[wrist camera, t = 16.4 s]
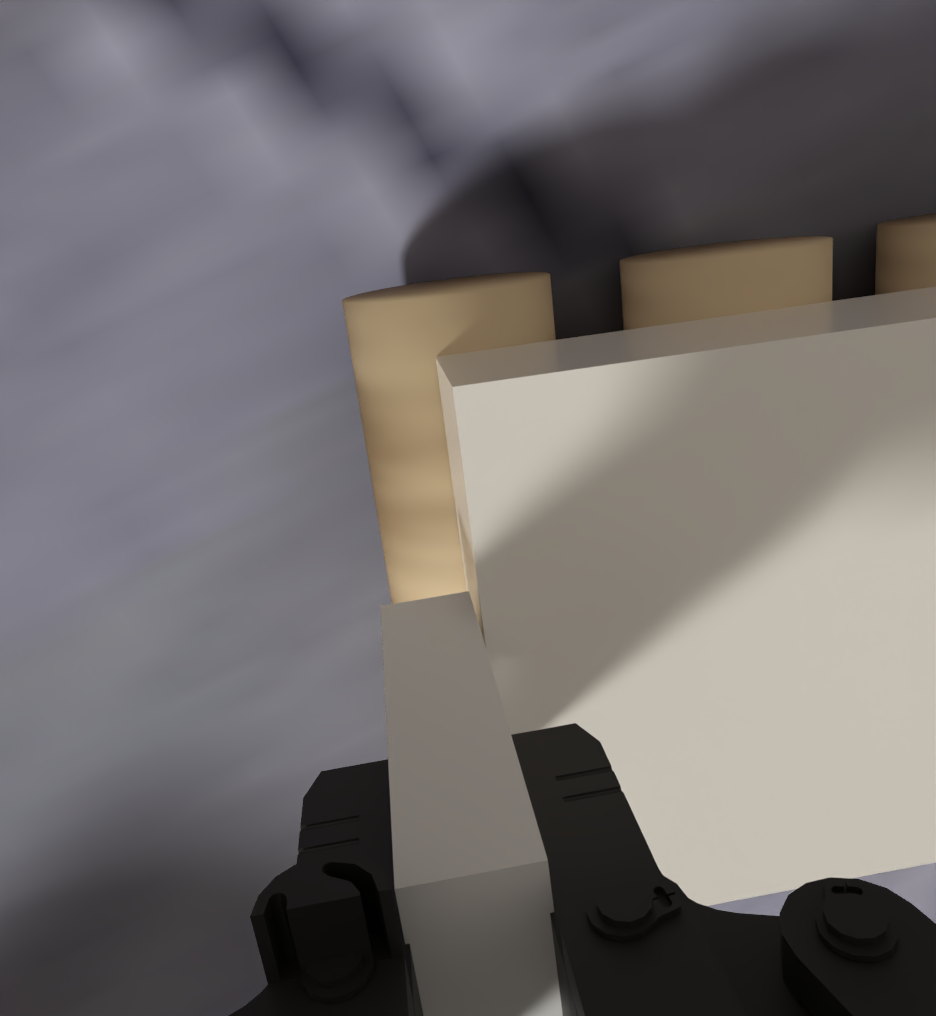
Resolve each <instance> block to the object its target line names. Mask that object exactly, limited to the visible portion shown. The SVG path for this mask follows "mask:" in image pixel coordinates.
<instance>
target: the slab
mask: <svg viewBox="0 0 936 1016" xmlns="http://www.w3.org/2000/svg"><path fill="white" fill-rule="evenodd" d="M436 365H437V372H438V380H439V387H440V395H441V402H442V410H443V417H444V425H445V432H446V440H447V447H448V455H449V462H450V470H451V477H452V485H453V492H454V500H455V507H456V515H457V522H458V529H459V537H460V544H461V552H462V559H463V567H464V574H465V582H466V589H467V591H469V593H470V596H471V600H472V603H473V606H474V610H475V613H476V617H477V620H478V623H479V627H480V630H481V634H482V637H483V641H484V644H485V647H486V651H487V654H488V658H489V661H490V664H491V668H492V671H493V675H494V678H495V681H496V685H497V688H498V692H499V695H500V699H501V702H502V705H503V709H504V712H505V716H506V719H507V722H508V726H509V729H510V733H511V735H512V734H518V733H523V732H529V731H534V730H540V729H546V728H551V727H557V726H562V725H568V724H573V723H576V724H577V725H579V726H580V727H581V728H583V729H584V730H585V731H587V732H588V733H589V734H591V735H592V736H593V737H595V738H596V739H597V740H599V741H600V742H601V745H602V747H603V749H604V751H605V753H606V755H607V758H608V760H609V762H610V764H611V767H612V771H614V773H615V775H616V777H617V779H618V781H619V784H620V786H621V790H622V792H624V794H625V797H626V799H627V801H628V803H629V805H630V808H631V810H632V812H633V814H634V816H635V818H636V821H637V823H638V825H639V827H640V829H641V831H642V834H643V836H644V838H645V840H646V842H647V844H648V847H649V849H650V851H651V853H652V855H653V857H654V860H655V862H656V864H657V866H658V868H659V870H660V871H661V873H662V874H663V876H665V877H667V878H668V879H670V880H672V881H673V882H675V883H677V884H678V886H679V887H680V888H681V889H682V891H683V892H684V893H685V895H686V896H687V897H688V898H689V899H691V900H693V901H695V902H696V903H699V904H701V905H704V906H709V905H714V904H719V903H725V902H730V901H735V900H740V899H746V898H751V897H756V896H761V895H767V894H772V893H777V892H783V891H788V890H793V889H798V888H799V887H801V886H802V885H804V884H805V883H808V882H812V881H816V880H821V879H825V878H829V877H833V878H849V879H851V878H856V877H861V876H867V875H872V874H877V873H883V872H888V871H893V870H898V869H904V868H909V867H914V866H919V865H925V864H930V863H935V862H936V287H929V288H922V289H915V290H908V291H900V292H893V293H886V294H879V295H872V296H865V297H858V298H851V299H843V300H836V301H829V302H822V303H815V304H808V305H801V306H794V307H787V308H780V309H773V310H766V311H758V312H751V313H744V314H737V315H730V316H722V317H715V318H708V319H701V320H694V321H687V322H680V323H673V324H666V325H658V326H651V327H644V328H637V329H630V330H623V331H616V332H609V333H601V334H594V335H587V336H580V337H573V338H566V339H559V340H552V341H545V342H537V343H530V344H523V345H516V346H509V347H502V348H495V349H488V350H480V351H474V352H467V353H460V354H452V355H445V356H438V357H436Z"/></svg>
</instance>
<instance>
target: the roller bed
mask: <svg viewBox="0 0 936 1016" xmlns="http://www.w3.org/2000/svg"><path fill="white" fill-rule="evenodd" d="M619 262H620V277H621V293H622V309H623V324H624V330H630V329H637V328H644V327H651V326H658V325H666V324H673V323H680V322H687V321H694V320H701V319H708V318H715V317H722V316H730V315H737V314H744V313H751V312H758V311H766V310H773V309H780V308H787V307H794V306H801V305H808V304H815V303H822V302H829V301H832V272H833V238H832V237H826V236H800V237H781V238H767V239H755V240H744V241H733V242H724V243H715V244H706V245H698V246H690V247H683V248H676V249H669V250H662V251H656V252H651V253H645V254H640V255H635V256H631V257H627V258H624V259H621V260H620V261H619ZM929 287H936V214H929V215H921V216H914V217H908V218H901V219H896V220H890V221H886V222H882V223H879V224H877V241H876V277H875V295H879V294H886V293H893V292H900V291H908V290H915V289H922V288H929ZM342 303H343V309H344V315H345V321H346V327H347V333H348V339H349V345H350V351H351V357H352V363H353V369H354V375H355V382H356V388H357V394H358V400H359V406H360V412H361V418H362V424H363V430H364V436H365V442H366V448H367V454H368V461H369V467H370V473H371V479H372V485H373V491H374V497H375V503H376V509H377V515H378V521H379V527H380V533H381V540H382V546H383V552H384V558H385V564H386V570H387V576H388V582H389V588H390V594H391V600H392V604H395V603H401V602H407V601H413V600H419V599H425V598H431V597H437V596H443V595H449V594H455V593H461V592H467V589H466V582H465V574H464V567H463V559H462V552H461V544H460V537H459V529H458V522H457V515H456V507H455V500H454V492H453V485H452V477H451V470H450V462H449V455H448V447H447V440H446V432H445V425H444V417H443V410H442V402H441V395H440V387H439V380H438V372H437V365H436V357H438V356H445V355H452V354H460V353H467V352H474V351H480V350H488V349H495V348H502V347H509V346H516V345H523V344H530V343H537V342H545V341H552V340H556V336H555V325H554V313H553V302H552V291H551V280H550V274H549V273H546V272H516V273H502V274H490V275H479V276H470V277H461V278H452V279H445V280H437V281H430V282H423V283H416V284H409V285H403V286H397V287H391V288H386V289H381V290H376V291H371V292H366V293H362V294H358V295H354V296H351V297H348V298H345V299H343V300H342Z"/></svg>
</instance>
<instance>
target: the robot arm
mask: <svg viewBox="0 0 936 1016" xmlns="http://www.w3.org/2000/svg"><path fill="white" fill-rule="evenodd" d="M381 625H382V645H383V666H384V686H385V706H386V726H387V747H388V760H382V761H377V762H371V763H366V764H360V765H355V766H349V767H343V768H338V769H332V770H327V771H321V773H320V774H319V776H318V777H317V779H316V780H315V782H314V783H313V785H312V786H311V788H310V789H309V791H308V792H307V794H306V795H305V797H304V798H303V807H302V817H301V831H300V837H299V847H298V850H299V855H298V857H297V864H296V865H294V866H292V867H291V868H289V869H288V870H286V871H284V872H283V873H281V874H280V875H278V876H276V877H275V878H274V879H273V880H272V882H271V883H270V884H269V885H268V886H267V887H266V888H265V889H264V890H263V891H262V893H261V894H260V895H259V896H258V899H257V901H256V903H255V906H254V908H253V911H252V913H251V916H250V917H251V921H252V925H253V929H254V932H255V936H256V940H257V944H258V948H259V951H260V955H261V959H262V963H263V966H264V970H265V974H266V978H267V982H268V985H267V986H266V988H265V989H264V990H263V991H262V992H261V993H260V994H259V995H257V996H256V997H255V998H254V999H253V1000H252V1001H250V1002H249V1003H248V1004H247V1005H246V1006H244V1007H243V1008H241V1009H239V1010H237V1011H236V1012H234V1013H232V1014H231V1015H229V1016H936V924H935V923H934V922H933V921H932V920H930V919H929V918H928V917H927V916H926V915H924V914H923V913H922V912H921V911H920V910H918V909H917V908H916V907H915V906H914V905H912V904H911V903H910V902H908V901H906V900H905V899H903V898H902V897H900V896H898V895H897V894H895V893H894V892H892V891H890V890H889V889H887V888H885V887H881V886H878V885H875V884H872V883H869V882H866V881H863V880H860V879H849V878H833V877H829V878H825V879H821V880H816V881H812V882H808V883H805V884H804V885H802V886H801V887H799V888H798V889H797V890H795V891H794V892H792V893H791V894H789V895H788V897H787V899H786V901H785V903H784V905H783V908H782V910H781V912H780V916H769V915H755V914H741V913H733V912H727V911H721V910H716V909H713V908H710V907H707V906H704V905H701V904H699V903H696V902H695V901H693V900H691V899H689V898H688V897H687V896H686V895H685V893H684V892H683V891H682V889H681V888H680V887H679V886H678V884H677V883H675V882H673V881H672V880H670V879H668V878H667V877H665V876H663V874H662V873H661V871H660V870H659V868H658V866H657V864H656V862H655V860H654V857H653V855H652V853H651V851H650V849H649V847H648V844H647V842H646V840H645V838H644V836H643V834H642V831H641V829H640V827H639V825H638V823H637V821H636V818H635V816H634V814H633V812H632V810H631V808H630V805H629V803H628V801H627V799H626V797H625V794H624V792H622V790H621V786H620V784H619V781H618V779H617V777H616V775H615V773H614V771H612V767H611V764H610V762H609V760H608V758H607V755H606V753H605V751H604V749H603V747H602V745H601V742H600V741H599V740H597V739H596V738H595V737H593V736H592V735H591V734H589V733H588V732H587V731H585V730H584V729H583V728H581V727H580V726H579V725H577V724H576V723H573V724H568V725H562V726H557V727H551V728H546V729H540V730H534V731H529V732H523V733H518V734H512V735H511V733H510V729H509V726H508V722H507V719H506V716H505V712H504V709H503V705H502V702H501V699H500V695H499V692H498V688H497V685H496V681H495V678H494V675H493V671H492V668H491V664H490V661H489V658H488V654H487V651H486V647H485V644H484V641H483V637H482V634H481V630H480V627H479V623H478V620H477V617H476V613H475V610H474V606H473V603H472V600H471V596H470V593H469V591H467V592H461V593H455V594H449V595H443V596H437V597H431V598H425V599H419V600H413V601H407V602H401V603H395V604H389V605H383V606H381Z"/></svg>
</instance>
